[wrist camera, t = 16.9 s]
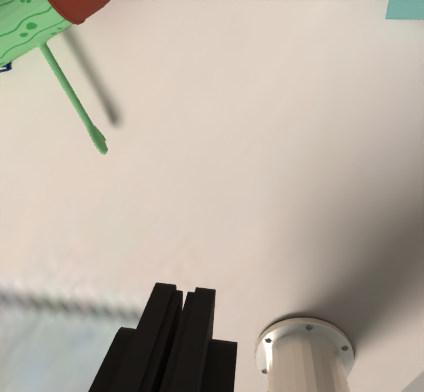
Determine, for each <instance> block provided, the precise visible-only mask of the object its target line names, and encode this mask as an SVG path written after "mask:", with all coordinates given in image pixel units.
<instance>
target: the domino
mask: <svg viewBox="0 0 424 392" xmlns="http://www.w3.org/2000/svg"><path fill="white" fill-rule="evenodd" d="M386 19H424V0H389V2H388V8H387V14H386Z"/></svg>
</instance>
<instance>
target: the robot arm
mask: <svg viewBox="0 0 424 392" xmlns="http://www.w3.org/2000/svg"><path fill="white" fill-rule="evenodd" d="M215 293H216V290H215V289H207V288H198V287H196V290H195V292H188V293H187V297H186V300H185V304H184V307H183V311H182V306H183V291H179V290H176V285H173V284H165V283H156V284H155V286H154V288H153V291H152V293H151V295H150V298H149V300H148V302H147V305H146V307H145V309H144V312H143V314H142V317H141V319H140V321H139V324H138V326H137V328H136V329H132V328H124V327H121V328H120V329H119V330H118V332H117V333H116V335H115V338H114V340H113V342H112V344H111V346H110V348H109V350H108V352H107V354H106V356H105V358H104V360H103V362H102V364H101V367H100V369H99V371H98V373H97V375H96V377H95V379H94V381H93V383H92V385H91V387H90V389H89V391H88V392H234V381H235V369H236V356H237V342H231V341H223V340H216V339H212V335H213V321H214V308H215ZM255 362H256V366H257V368H258V371H259V372H260V374H261V375H262V376H263V377H264V378H265V379H266V380H267V390H268V392H350V391H349V387H348V383H347V376H348V375H349V373H350V372H351V370H352V367H353V363H354V355H353V350H352V347H351V343H350V341H349V340H348V338H347V336H346V335H345V334H344V333H343V332H342V331H341V330H340V329H338V328H337V327H335V326H334V325H332V324H330V323H328V322H326V321H322V320H319V319H314V318H292V319H286V320H283V321H280V322H278V323H276V324H274V325H272V326H270V327H269V328H268V329H267V330H265V331H264V332H263V334H262V335H261V336H260V337H259V339H258V341H257V343H256V348H255Z"/></svg>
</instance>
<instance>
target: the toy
mask: <svg viewBox="0 0 424 392" xmlns="http://www.w3.org/2000/svg"><path fill="white" fill-rule="evenodd" d="M109 1H110V0H0V68H1V67H6V68H7V69H3V70H0V72H5V71H9V70H11V67H10V64H11V62H12V61H13V60H14V59H16V58H18V57H20V56H21V55H23V54H25V53H27V52H28V51H30V50H32V49H33V48H35V47H39V48H40V49H41V51H42V53H43V54H44V56H45V58H46V60H47V61H48V63H49V65H50V66H51V68H52V70H53V71H54V73H55V75H56V77H57V78H58V80H59V82H60V83H61V85H62V87H63V88H64V90H65V92H66V94H67V95H68V97H69V99H70V100H71V102H72V104H73V105H74V107H75V109H76V111H77V112H78V114H79V116H80V117H81V119H82V121H83V123H84V124H85V126H86V128H87V130H88V132H89V134H90V136H91V139H92V141H93V142H94V144H95V146H96V148H97V149H98V150H99V152H100V153H101V154H106V153H107V151H108V148H107V146H106V143H105V141H106V139H105V138H104V136H103V135H102V134H101V132H100V131H99V130H98V129H97V128H96V127H95V126H94V125H93V123H92V122H91V120H90V118H89V117H88V115H87V113H86V112H85V110H84V108H83V106H82V105H81V103H80V101H79V99H78V98H77V96H76V94H75V93H74V91H73V89H72V87H71V86H70V84H69V82H68V80H67V79H66V77H65V75H64V74H63V72H62V70H61V68H60V67H59V65H58V63H57V62H56V60H55V58H54V56H53V55H52V53H51V51H50V49H49V48H48V46H47V44H46V42H47V41H48V40H49V39H50V38H52V37H53V36H55V35H57V34H58V33H60V32H61V31H63V30H65V29H66V28H68V27H69V26H71V25H72V24H77V25H79V24H81V23H83V22H84V21H85V19H86V18H88V17H89V16H91V15H92V14H94V13H95V12H97V11H98V10H100V9H101V8H103V7H104V6H105V5H106V4H107V3H108V2H109Z"/></svg>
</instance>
